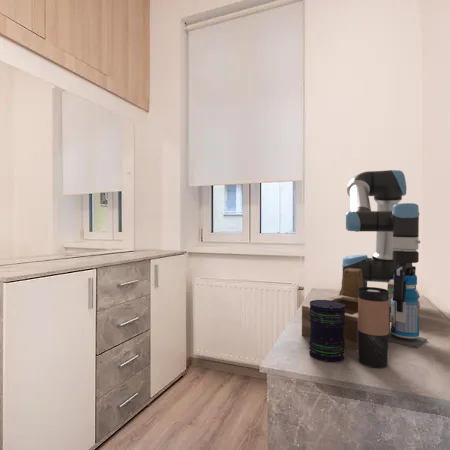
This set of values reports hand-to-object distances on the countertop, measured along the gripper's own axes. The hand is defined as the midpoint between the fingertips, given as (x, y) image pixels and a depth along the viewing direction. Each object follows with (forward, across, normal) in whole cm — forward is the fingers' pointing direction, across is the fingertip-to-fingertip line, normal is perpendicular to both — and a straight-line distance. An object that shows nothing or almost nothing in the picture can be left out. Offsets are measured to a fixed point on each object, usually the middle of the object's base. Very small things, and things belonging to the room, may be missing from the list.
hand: (404, 319), depth 104 cm
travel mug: (+7, -26, 0) cm, 27 cm away
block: (+7, +14, +24) cm, 29 cm away
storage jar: (+7, -31, +11) cm, 34 cm away
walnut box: (+7, -8, +16) cm, 19 cm away
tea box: (+7, +28, +10) cm, 31 cm away
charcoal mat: (+7, 0, 0) cm, 7 cm away
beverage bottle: (+5, 0, 0) cm, 5 cm away
